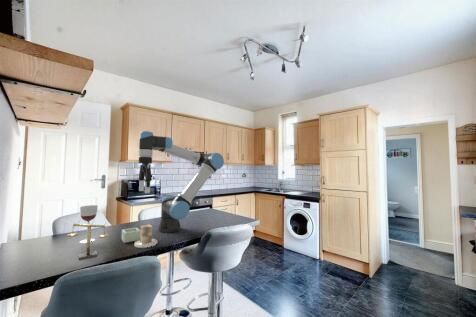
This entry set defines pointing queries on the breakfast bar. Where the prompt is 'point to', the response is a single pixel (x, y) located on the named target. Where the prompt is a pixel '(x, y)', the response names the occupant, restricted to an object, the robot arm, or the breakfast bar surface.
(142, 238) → the block
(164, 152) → the robot arm
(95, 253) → the balance
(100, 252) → the breakfast bar surface
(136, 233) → the pale green open box
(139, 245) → the dish
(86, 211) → the wineglass
